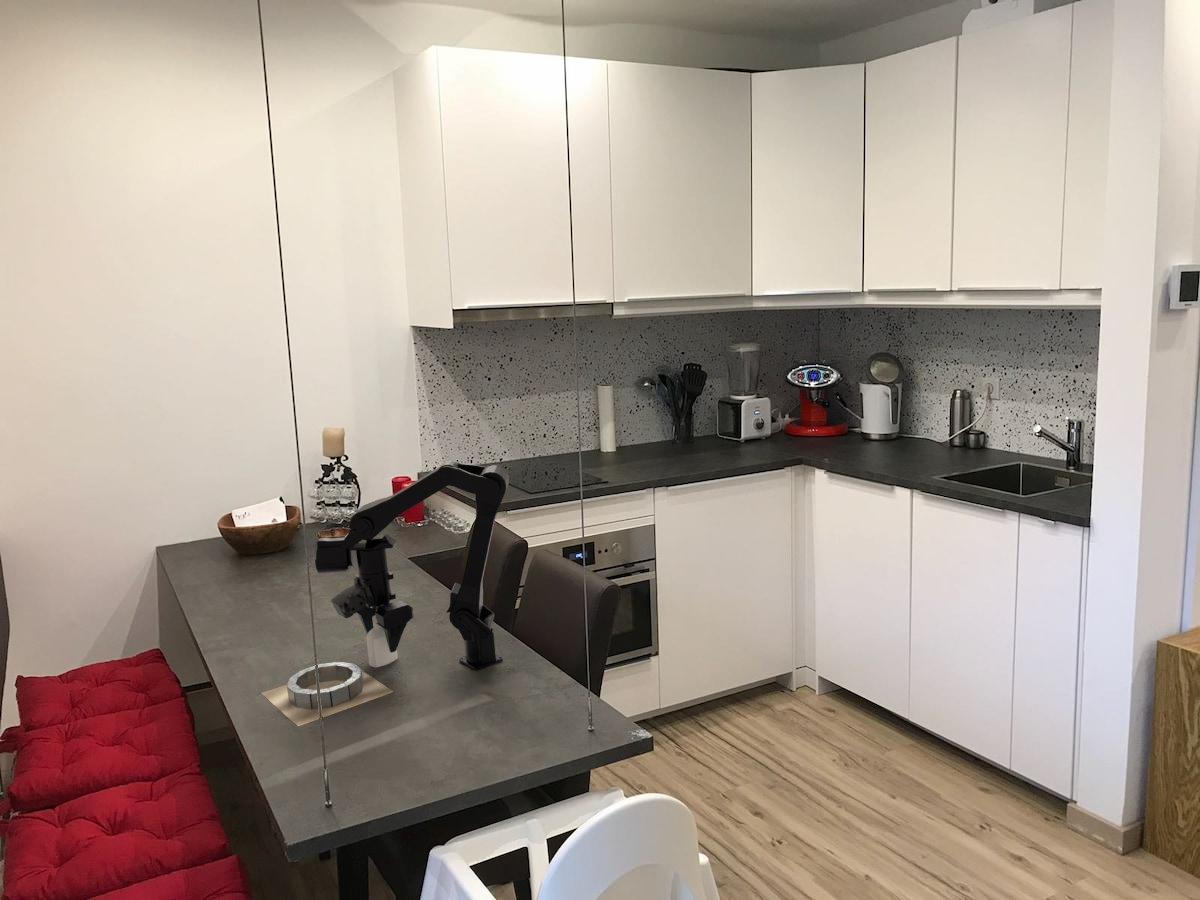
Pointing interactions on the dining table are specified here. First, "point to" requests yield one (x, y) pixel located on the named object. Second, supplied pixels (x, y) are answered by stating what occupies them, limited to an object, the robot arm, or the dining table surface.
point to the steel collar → (330, 695)
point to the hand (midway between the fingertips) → (382, 645)
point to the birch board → (304, 716)
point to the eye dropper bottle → (379, 647)
